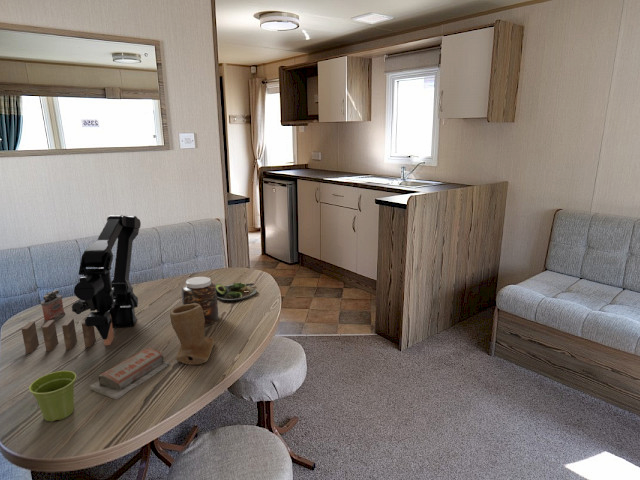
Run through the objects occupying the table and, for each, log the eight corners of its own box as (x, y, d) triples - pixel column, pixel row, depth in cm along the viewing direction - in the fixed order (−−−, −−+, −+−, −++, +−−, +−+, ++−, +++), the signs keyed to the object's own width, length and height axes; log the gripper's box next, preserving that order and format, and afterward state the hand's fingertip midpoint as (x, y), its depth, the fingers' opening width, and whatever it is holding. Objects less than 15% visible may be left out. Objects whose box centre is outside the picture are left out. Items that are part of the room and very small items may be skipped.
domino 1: (39, 344, 132) (34, 321, 130) (32, 352, 127) (27, 328, 125) (33, 345, 132) (29, 322, 130) (26, 353, 127) (21, 329, 125)
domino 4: (95, 339, 135) (92, 316, 133) (90, 346, 131) (87, 323, 129) (90, 339, 135) (86, 317, 133) (85, 347, 130) (81, 323, 128)
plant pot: (25, 421, 97) (19, 388, 95) (63, 398, 105) (57, 367, 103) (54, 431, 94) (48, 397, 91) (90, 406, 102) (85, 374, 100)
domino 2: (58, 343, 133) (54, 319, 131) (52, 350, 129) (47, 326, 127) (52, 343, 133) (48, 320, 131) (46, 351, 128) (41, 327, 126)
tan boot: (180, 342, 133) (175, 298, 129) (217, 341, 134) (214, 297, 130) (165, 368, 118) (160, 319, 115) (207, 367, 119) (203, 318, 115)
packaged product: (143, 343, 123) (168, 351, 119) (145, 358, 125) (170, 366, 120) (87, 374, 108) (114, 384, 103) (89, 391, 109) (116, 401, 105)
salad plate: (243, 282, 187) (242, 273, 186) (267, 293, 175) (267, 282, 174) (204, 294, 174) (203, 283, 173) (227, 306, 162) (226, 295, 161)
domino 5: (114, 337, 137) (110, 314, 135) (110, 344, 132) (106, 321, 130) (108, 338, 136) (105, 315, 134) (104, 345, 132) (101, 322, 130)
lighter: (49, 323, 147) (45, 297, 144) (41, 322, 148) (36, 296, 145) (67, 314, 155) (63, 288, 152) (59, 313, 155) (55, 288, 153)
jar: (217, 311, 156) (214, 273, 152) (219, 324, 145) (216, 284, 142) (184, 315, 153) (180, 276, 149) (184, 329, 142) (180, 288, 138)
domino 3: (77, 341, 134) (73, 318, 132) (71, 348, 130) (67, 325, 128) (71, 341, 134) (67, 318, 132) (65, 349, 129) (61, 325, 127)
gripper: (83, 279, 137) (89, 323, 141) (61, 301, 119) (70, 351, 123) (119, 277, 139) (125, 320, 143) (103, 298, 121) (110, 347, 125)
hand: (108, 333), depth 133 cm, fingers open, 7 cm apart
